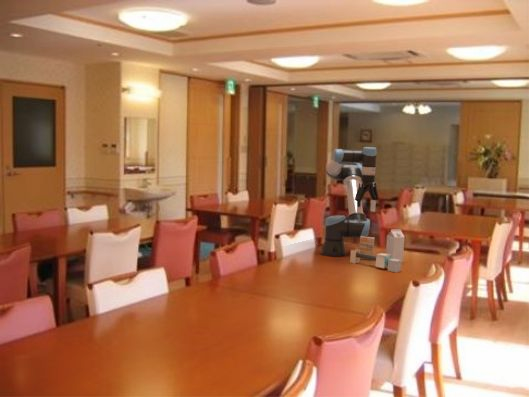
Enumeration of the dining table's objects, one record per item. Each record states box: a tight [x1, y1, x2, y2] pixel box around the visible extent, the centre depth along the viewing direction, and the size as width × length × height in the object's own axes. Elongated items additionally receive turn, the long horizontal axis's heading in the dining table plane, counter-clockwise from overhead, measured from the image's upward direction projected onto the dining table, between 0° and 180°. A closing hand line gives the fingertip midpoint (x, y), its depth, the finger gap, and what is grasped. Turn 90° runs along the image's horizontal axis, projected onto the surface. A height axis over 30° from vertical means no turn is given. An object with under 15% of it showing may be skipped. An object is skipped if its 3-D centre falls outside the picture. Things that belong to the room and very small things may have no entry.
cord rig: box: [349, 249, 402, 273], centre depth 312 cm, size 30×5×7 cm, turn 46°
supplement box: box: [358, 236, 376, 261], centre depth 332 cm, size 8×5×13 cm, turn 73°
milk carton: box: [385, 228, 405, 263], centre depth 328 cm, size 7×7×19 cm
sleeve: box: [375, 252, 391, 269], centre depth 308 cm, size 5×6×7 cm
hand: (365, 212), depth 321 cm, fingers open, 13 cm apart
